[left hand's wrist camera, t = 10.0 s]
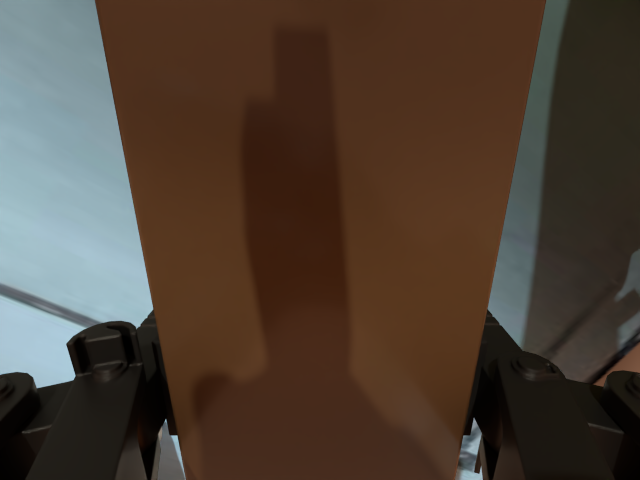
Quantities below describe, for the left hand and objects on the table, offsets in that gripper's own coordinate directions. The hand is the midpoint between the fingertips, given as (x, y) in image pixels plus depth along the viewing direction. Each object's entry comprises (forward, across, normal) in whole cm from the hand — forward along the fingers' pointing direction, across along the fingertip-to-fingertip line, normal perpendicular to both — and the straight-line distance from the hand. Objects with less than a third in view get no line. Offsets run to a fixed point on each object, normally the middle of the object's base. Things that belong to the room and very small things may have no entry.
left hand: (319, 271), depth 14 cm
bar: (+1, 0, -7) cm, 7 cm away
